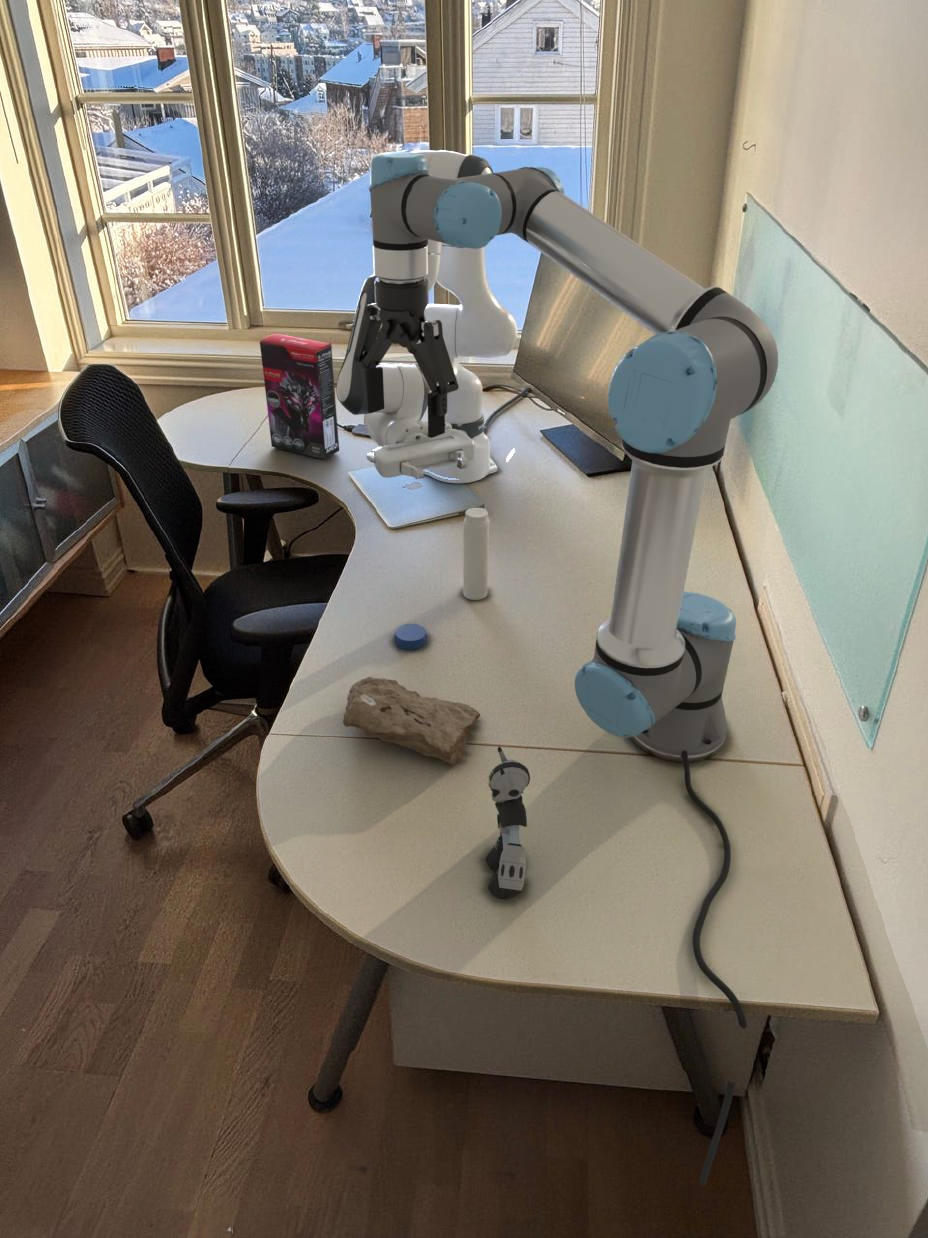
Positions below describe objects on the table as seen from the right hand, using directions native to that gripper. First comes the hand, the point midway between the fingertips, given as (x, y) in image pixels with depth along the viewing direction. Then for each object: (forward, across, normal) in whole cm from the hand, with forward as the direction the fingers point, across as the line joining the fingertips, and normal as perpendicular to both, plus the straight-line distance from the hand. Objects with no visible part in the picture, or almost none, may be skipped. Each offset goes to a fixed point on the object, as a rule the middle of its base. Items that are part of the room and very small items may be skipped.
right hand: (405, 422), depth 140 cm
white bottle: (+41, +3, -19) cm, 45 cm away
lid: (+39, 0, 0) cm, 39 cm away
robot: (+41, -47, +27) cm, 68 cm away
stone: (+41, -17, +17) cm, 47 cm away
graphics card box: (+41, +80, -37) cm, 97 cm away
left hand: (+20, +16, -23) cm, 34 cm away
